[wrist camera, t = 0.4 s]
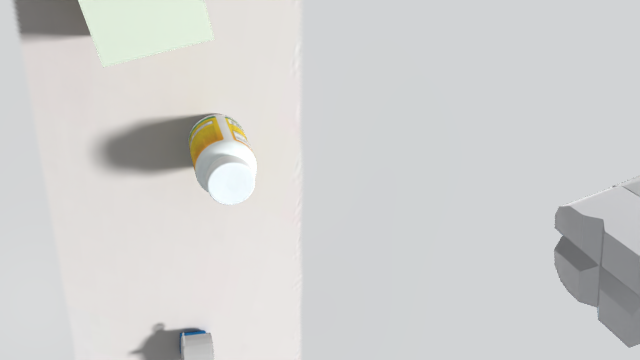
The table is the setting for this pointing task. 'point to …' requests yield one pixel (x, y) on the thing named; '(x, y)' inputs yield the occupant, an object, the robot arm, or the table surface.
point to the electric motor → (196, 346)
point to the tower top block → (144, 27)
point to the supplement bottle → (222, 159)
